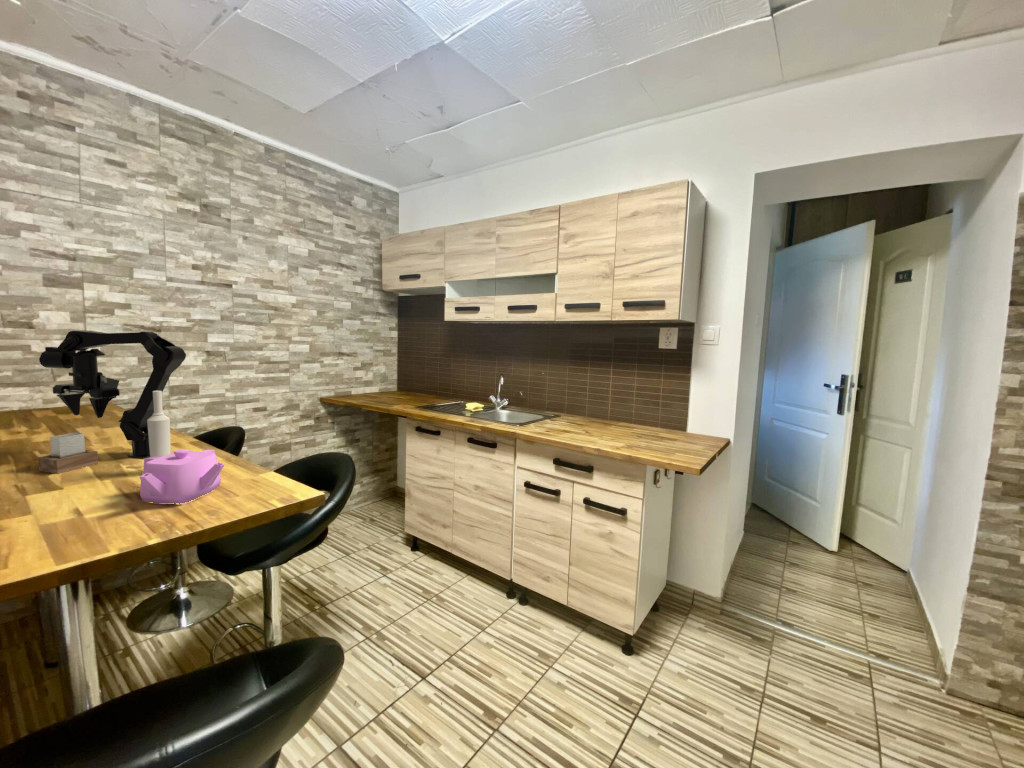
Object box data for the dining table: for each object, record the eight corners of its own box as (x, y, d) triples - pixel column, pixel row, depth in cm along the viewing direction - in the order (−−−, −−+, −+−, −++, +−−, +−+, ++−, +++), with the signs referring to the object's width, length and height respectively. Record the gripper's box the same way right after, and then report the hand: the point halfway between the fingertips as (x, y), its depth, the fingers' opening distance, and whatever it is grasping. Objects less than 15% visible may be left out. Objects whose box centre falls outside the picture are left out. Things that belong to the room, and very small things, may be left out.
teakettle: (216, 479, 120) (214, 438, 119) (227, 497, 108) (225, 453, 107) (138, 492, 108) (136, 447, 107) (141, 514, 96) (138, 464, 95)
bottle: (145, 472, 121) (141, 391, 119) (165, 468, 126) (161, 389, 123) (156, 475, 120) (152, 393, 117) (176, 470, 125) (172, 391, 122)
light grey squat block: (86, 461, 125) (84, 433, 124) (61, 467, 119) (58, 438, 118) (77, 460, 126) (75, 432, 125) (52, 466, 120) (49, 436, 119)
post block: (98, 463, 127) (97, 451, 126) (57, 473, 117) (56, 460, 117) (80, 461, 128) (79, 448, 128) (39, 470, 119) (38, 457, 118)
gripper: (136, 369, 137) (138, 414, 139) (90, 365, 140) (93, 409, 142) (97, 372, 126) (101, 420, 128) (49, 367, 129) (53, 415, 131)
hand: (88, 416), depth 133 cm, fingers open, 9 cm apart
